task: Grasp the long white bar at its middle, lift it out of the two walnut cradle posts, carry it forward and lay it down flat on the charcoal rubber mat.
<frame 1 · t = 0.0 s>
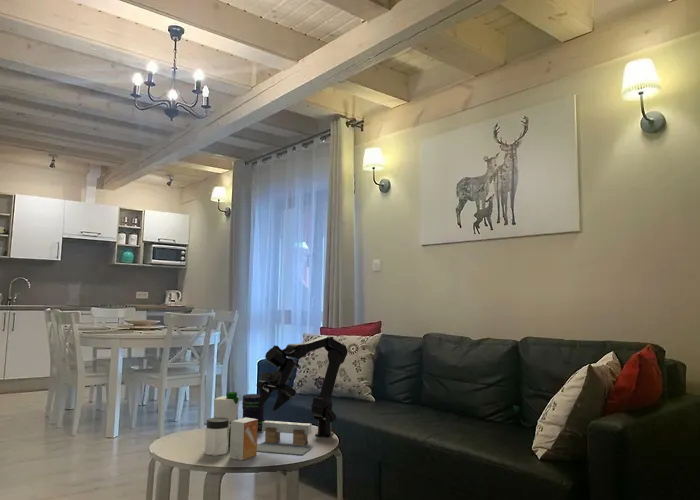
hand: (266, 408, 205), 15 cm above the table, tool tilted 35°, fingers open, 9 cm apart
long white bar: (286, 431, 213), point 4 cm above the table, touching post 2, post 1
storage jar: (252, 430, 233), on the table
mat: (276, 449, 201), on the table
small box: (243, 457, 192), on the table
jar: (216, 453, 197), on the table
post 1: (272, 441, 215), on the table
milk carton: (225, 444, 209), on the table
post 2: (300, 443, 211), on the table
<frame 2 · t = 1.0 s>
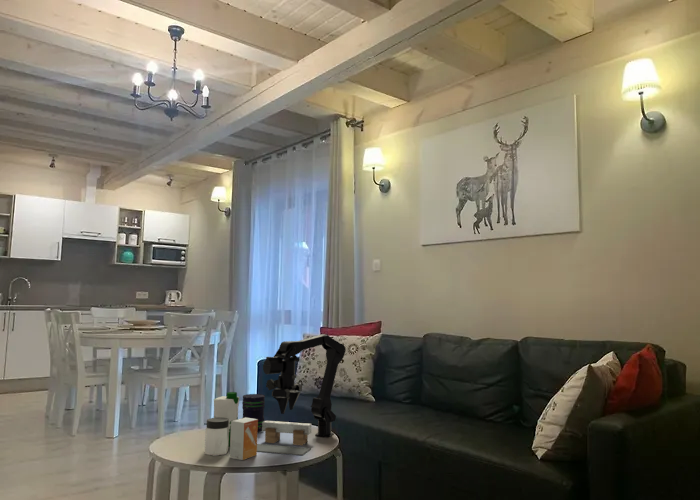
hand: (286, 411, 214), 12 cm above the table, tool pointing down, fingers open, 9 cm apart
nothing on the table moved.
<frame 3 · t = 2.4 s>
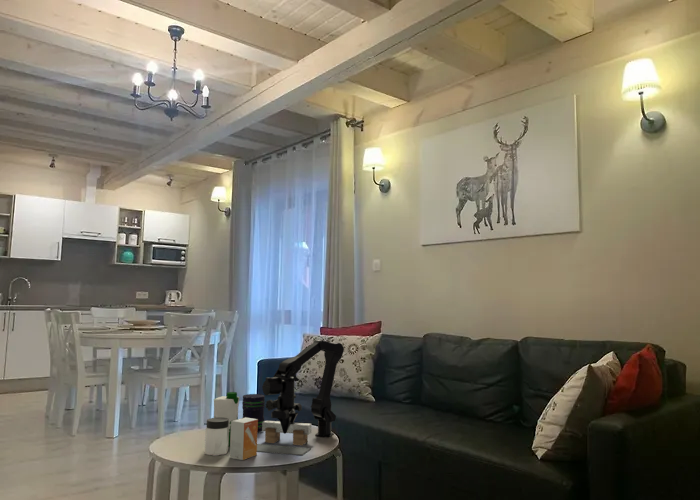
hand: (286, 432, 213), 4 cm above the table, tool pointing down, fingers closed on long white bar, 3 cm apart
long white bar: (286, 431, 213), point 4 cm above the table, touching gripper, post 2, post 1
everything else where it was.
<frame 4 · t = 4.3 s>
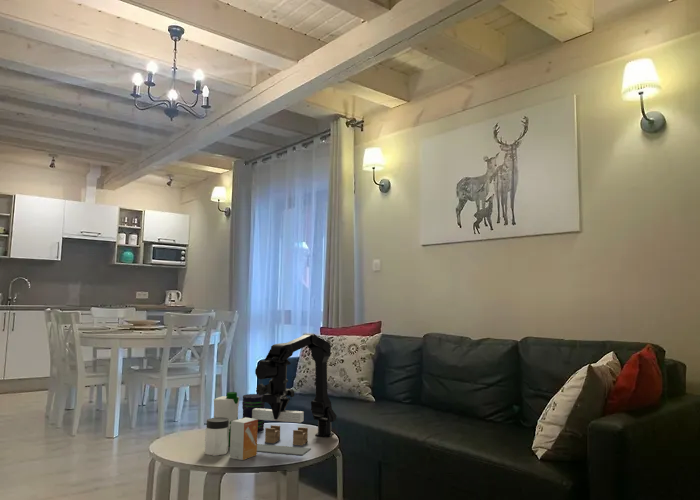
hand: (277, 418, 203), 11 cm above the table, tool pointing down, fingers closed on long white bar, 3 cm apart
long white bar: (277, 419, 203), point 11 cm above the table, touching gripper
everything else where it was.
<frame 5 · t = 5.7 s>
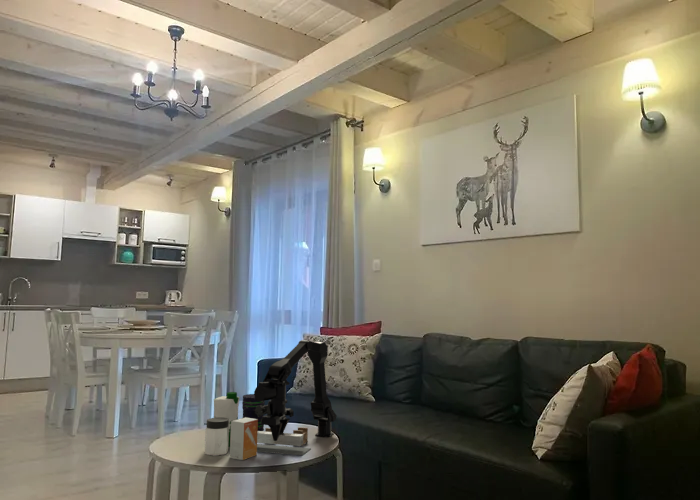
hand: (277, 439, 202), 4 cm above the table, tool pointing down, fingers closed on long white bar, 3 cm apart
long white bar: (277, 443, 202), point 3 cm above the table, touching gripper
everything else where it was.
when the fingers open (2 cm above the table, at t = 6.4 s): long white bar stays where it is, resting on mat.
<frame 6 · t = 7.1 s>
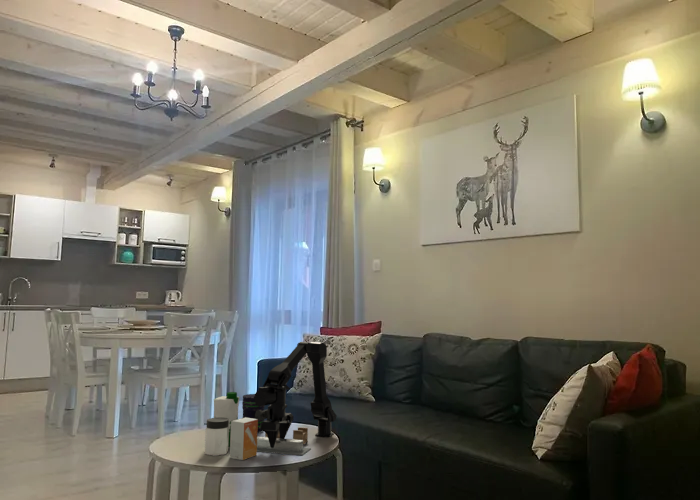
hand: (277, 444, 201), 2 cm above the table, tool pointing down, fingers open, 9 cm apart
long white bar: (276, 448, 201), resting on mat
everything else where it was.
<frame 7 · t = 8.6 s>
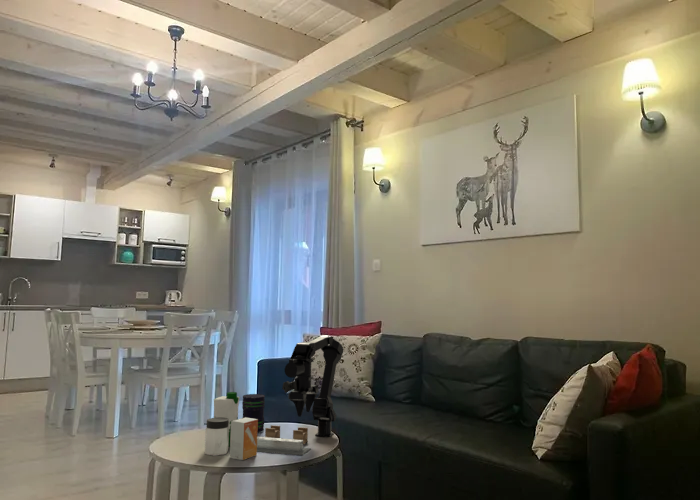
hand: (303, 414, 211), 12 cm above the table, tool pointing down, fingers open, 9 cm apart
nothing on the table moved.
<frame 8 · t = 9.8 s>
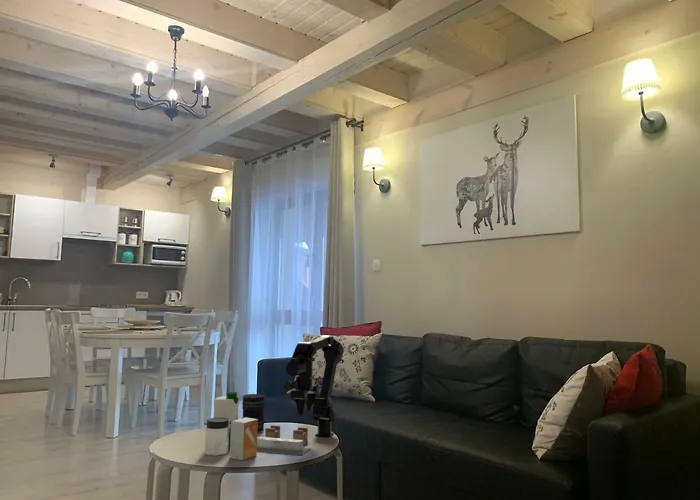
hand: (304, 413, 211), 12 cm above the table, tool pointing down, fingers open, 9 cm apart
nothing on the table moved.
at the end: long white bar inside the target area (0.1 cm from its centre), resting on mat; long white bar resting on mat; the gripper is holding nothing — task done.
